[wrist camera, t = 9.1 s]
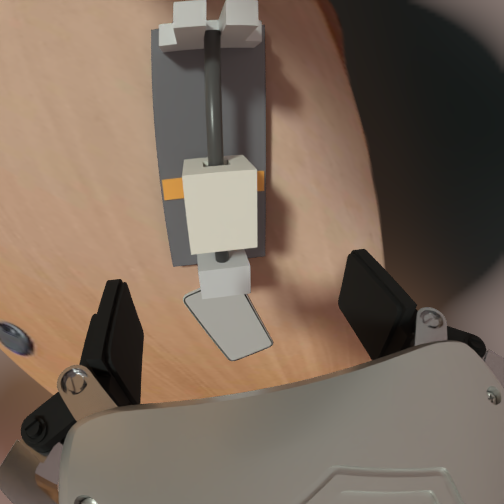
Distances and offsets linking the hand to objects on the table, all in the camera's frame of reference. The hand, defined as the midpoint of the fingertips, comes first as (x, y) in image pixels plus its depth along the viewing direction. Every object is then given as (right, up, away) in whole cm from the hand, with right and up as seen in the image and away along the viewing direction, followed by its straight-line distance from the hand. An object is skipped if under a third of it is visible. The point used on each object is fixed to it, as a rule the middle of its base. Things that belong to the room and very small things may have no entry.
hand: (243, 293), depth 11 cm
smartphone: (-2, -8, +26) cm, 28 cm away
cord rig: (-4, +12, +14) cm, 19 cm away
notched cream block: (-3, +7, +13) cm, 15 cm away
